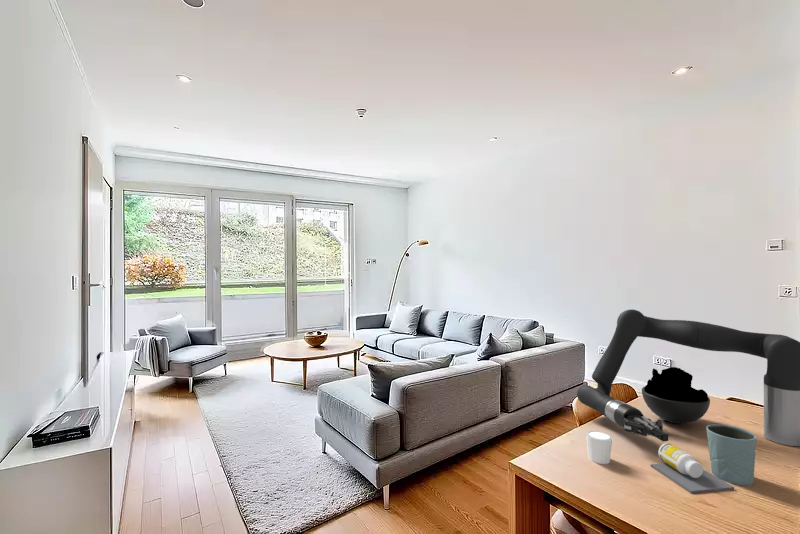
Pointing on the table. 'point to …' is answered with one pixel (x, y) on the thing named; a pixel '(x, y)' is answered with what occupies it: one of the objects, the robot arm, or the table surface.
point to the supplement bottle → (680, 460)
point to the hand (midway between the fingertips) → (666, 438)
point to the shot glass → (599, 446)
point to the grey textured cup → (732, 453)
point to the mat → (693, 480)
